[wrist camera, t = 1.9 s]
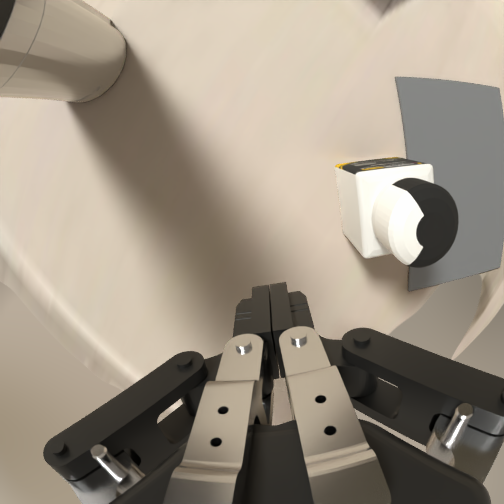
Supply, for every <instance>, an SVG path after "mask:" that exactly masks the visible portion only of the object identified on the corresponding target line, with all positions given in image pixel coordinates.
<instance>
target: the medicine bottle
mask: <svg viewBox="0 0 504 504" xmlns="http://www.w3.org/2000/svg"><path fill="white" fill-rule="evenodd" d="M335 175H336V182H337V189H338V196H339V204H340V212H341V221H342V230H343V233H344V235H345V236H346V237H347V238H348V239H349V240H350V242H351V243H352V244H353V245H354V246H355V248H356V249H357V250H358V251H359V253H360V254H361V255H362V256H363V257H364V258H366V259H369V258H373V257H378V256H383V255H388V254H393V255H394V256H395V257H396V258H397V259H398V260H399V261H401V262H402V263H403V264H405V265H407V266H410V267H415V268H422V267H426V266H430V265H432V264H434V263H436V262H437V261H439V260H440V259H441V258H442V257H444V256H445V254H446V253H447V252H448V251H449V250H450V248H451V246H452V245H453V243H454V241H455V238H456V235H457V231H458V223H459V218H458V210H457V206H456V203H455V201H454V199H453V197H452V196H451V195H450V193H449V192H448V191H447V190H446V189H444V188H443V187H441V186H439V185H437V184H434V175H433V166H432V165H431V164H427V163H423V162H418V161H414V160H409V159H404V158H399V157H392V158H383V159H374V160H366V161H358V162H351V163H344V164H337V165H336V166H335Z"/></svg>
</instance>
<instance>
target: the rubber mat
mask: <svg viewBox="0 0 504 504" xmlns="http://www.w3.org/2000/svg"><path fill="white" fill-rule="evenodd" d="M395 81H396V86H397V91H398V97H399V103H400V109H401V115H402V122H403V130H404V138H405V147H406V157H407V159H409V160H414V161H418V162H423V163H427V164H431V165H432V166H433V175H434V184H437V185H439V186H441V187H443V188H444V189H446V190H447V191H448V192H449V193H450V195H451V196H452V197H453V199H454V201H455V203H456V206H457V210H458V218H459V223H458V231H457V235H456V238H455V241H454V243H453V245H452V246H451V248H450V250H449V251H448V252H447V253H446V254H445V256H444V257H442V258H441V259H440V260H439V261H437V262H436V263H434V264H432V265H430V266H426V267H422V268H415V267H410V266H409V282H408V291H413V290H417V289H422V288H426V287H430V286H434V285H438V284H442V283H446V282H449V281H453V280H457V279H461V278H464V277H468V276H472V275H475V274H479V273H482V272H486V271H489V270H493V269H496V268H499V267H500V264H501V257H502V250H503V242H504V117H503V109H502V102H501V96H500V90H499V88H497V87H491V86H486V85H480V84H473V83H466V82H459V81H450V80H441V79H429V78H414V77H395Z"/></svg>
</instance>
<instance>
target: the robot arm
mask: <svg viewBox="0 0 504 504" xmlns="http://www.w3.org/2000/svg"><path fill="white" fill-rule="evenodd" d="M125 59H126V43H125V40H124V38H123V35H122V34H121V33H120V32H119V31H118V30H117V29H116V28H114V27H113V26H111V23H110V19H109V18H108V17H106V16H105V15H103V14H102V13H100V12H99V11H97V10H96V9H94V8H93V7H91V6H90V5H88V4H87V3H85V2H84V1H82V0H0V97H11V98H34V99H48V100H59V101H66V102H87V101H90V100H93V99H95V98H97V97H99V96H101V95H102V94H103V93H104V92H106V91H107V90H108V89H109V88H110V87H111V86H112V85H113V84H114V82H115V81H116V79H117V78H118V76H119V75H120V73H121V70H122V68H123V66H124V62H125ZM278 363H279V366H278ZM279 369H280V375H281V378H284V377H285V380H286V386H287V393H288V398H289V403H290V408H291V413H292V418H293V420H292V421H289V422H286V423H283V424H280V425H276V426H272V414H273V399H274V393H273V386H274V383H273V379H277V378H279ZM378 377H379V378H381V379H384V380H385V381H388V382H390V383H392V384H394V385H396V386H398V388H397V387H395V386H393V385H391V384H389V383H387V382H384V381H382V380H380V379H378ZM180 398H181V400H182V402H183V404H182V405H181V406H180V407H178V408H177V409H176V410H175V411H173V412H172V413H171V414H169V415H168V416H167V417H166V418H164V419H163V420H162V421H161V422H159V423H158V424H157V419H158V417H159V415H160V414H161V413H162V412H164V411H165V410H166V409H167V408H169V407H170V406H171V405H173V404H174V403H175V402H177V401H178V400H179V399H180ZM354 408H355V409H356V410H358V411H360V412H362V413H363V414H365V415H367V416H369V417H371V418H372V419H374V420H376V421H378V422H380V423H382V424H384V425H385V426H387V427H389V428H391V429H393V430H395V431H397V432H399V433H401V434H403V435H405V436H406V437H409V438H410V439H412V440H414V441H416V442H418V443H421V444H422V445H425V446H426V452H427V453H425V452H423V451H421V450H420V449H418V448H416V447H414V446H412V445H410V444H409V443H407V442H405V441H403V440H401V439H400V438H398V437H396V436H395V435H393V434H391V433H389V432H388V431H386V430H384V429H383V428H381V427H379V426H377V425H375V424H373V423H370V422H368V421H365V420H360V419H358V418H357V415H356V413H355V410H354ZM503 442H504V379H503V378H500V377H498V376H495V375H492V374H489V373H486V372H483V371H481V370H478V369H475V368H472V367H470V366H467V365H464V364H462V363H459V362H456V361H453V360H451V359H448V358H445V357H442V356H440V355H437V354H435V353H432V352H429V351H427V350H424V349H422V348H419V347H416V346H414V345H411V344H409V343H406V342H403V341H401V340H398V339H395V338H393V337H390V336H388V335H385V334H383V333H380V332H378V331H375V330H373V329H369V328H357V329H353V330H350V331H348V332H347V333H346V334H345V335H344V336H343V337H342V340H331V339H326V338H323V337H321V336H320V335H318V333H317V331H316V330H315V329H314V325H313V321H312V317H311V314H310V310H309V306H308V303H307V299H306V296H305V295H304V294H302V293H301V292H300V291H297V292H290V293H288V291H287V285H286V282H284V283H277V284H271V285H270V289H269V285H265V286H258V287H252V298H251V299H244V300H242V301H241V302H240V303H239V304H238V305H237V308H236V315H235V323H234V331H233V338H232V339H230V340H229V341H228V342H227V343H226V345H225V347H224V351H223V353H221V354H219V355H217V356H214V357H211V358H208V359H204V358H203V356H202V355H201V354H200V353H198V352H194V351H187V352H182V353H179V354H177V355H175V356H174V357H172V358H171V359H169V360H168V361H166V362H165V363H164V364H162V365H161V366H159V367H158V368H156V369H155V370H154V371H152V372H151V373H149V374H148V375H146V376H145V377H144V378H142V379H141V380H139V381H138V382H136V383H135V384H133V385H132V386H130V387H129V388H128V389H126V390H125V391H123V392H122V393H120V394H119V395H117V396H116V397H114V398H113V399H111V400H110V401H108V402H107V403H105V404H104V405H102V406H101V407H99V408H98V409H96V410H95V411H93V412H92V413H90V414H89V415H87V416H86V417H85V418H83V419H81V420H79V421H78V422H76V423H75V424H73V425H72V426H70V427H69V428H67V429H65V430H64V431H62V432H61V433H59V434H58V435H56V436H54V437H53V438H51V439H50V440H49V441H48V442H47V444H46V445H45V448H44V452H43V454H44V459H45V461H46V462H47V463H48V464H49V465H50V466H51V467H52V468H53V469H54V470H55V471H56V472H58V473H59V474H60V476H61V477H62V478H63V479H64V480H66V482H68V483H69V484H70V485H71V487H72V488H73V490H74V492H75V494H76V495H77V497H78V498H79V500H80V501H81V503H82V504H491V500H490V496H489V493H488V491H487V489H486V488H485V487H484V485H483V482H484V481H485V479H486V477H487V475H488V473H489V471H490V469H491V467H492V465H493V463H494V461H495V459H496V457H497V455H498V452H499V450H500V448H501V446H502V443H503Z"/></svg>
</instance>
